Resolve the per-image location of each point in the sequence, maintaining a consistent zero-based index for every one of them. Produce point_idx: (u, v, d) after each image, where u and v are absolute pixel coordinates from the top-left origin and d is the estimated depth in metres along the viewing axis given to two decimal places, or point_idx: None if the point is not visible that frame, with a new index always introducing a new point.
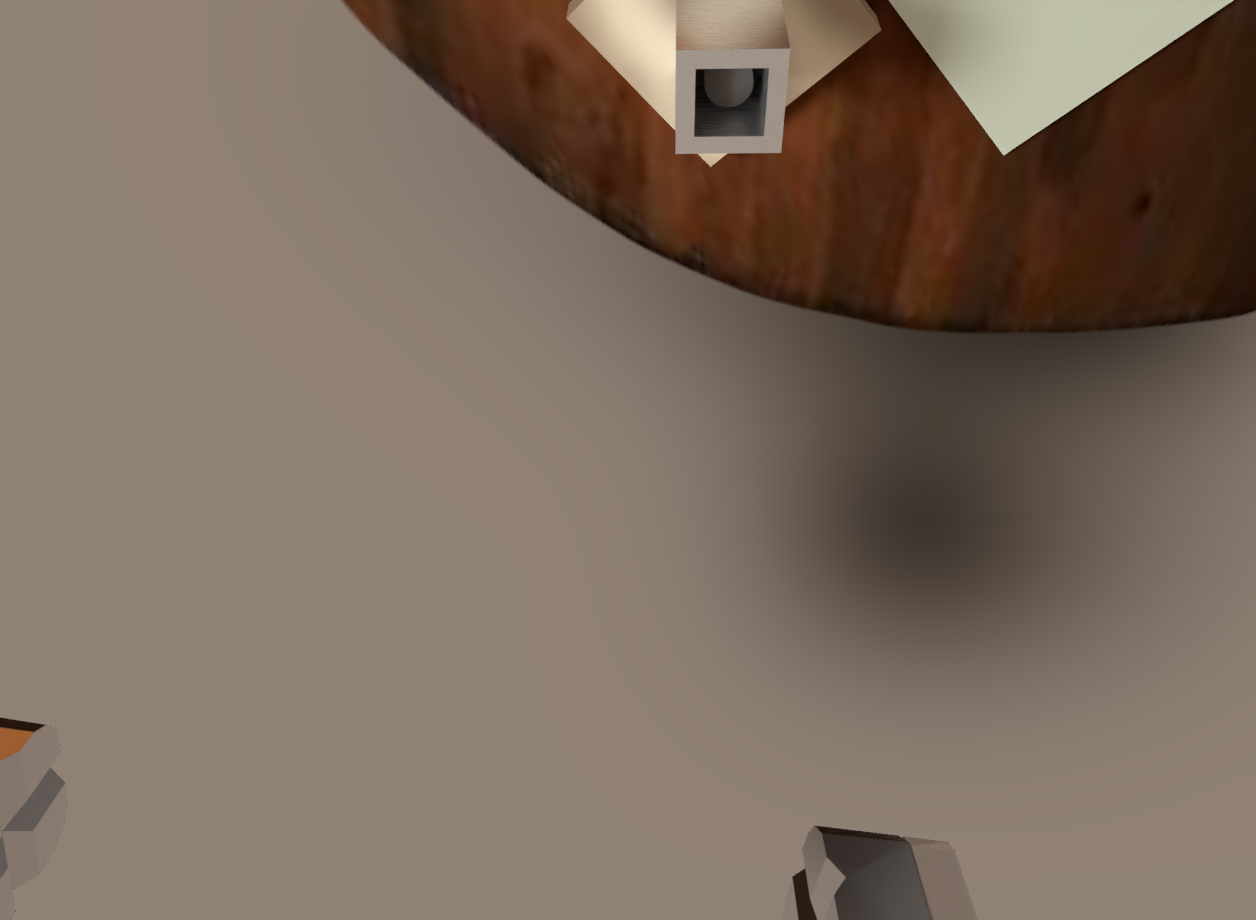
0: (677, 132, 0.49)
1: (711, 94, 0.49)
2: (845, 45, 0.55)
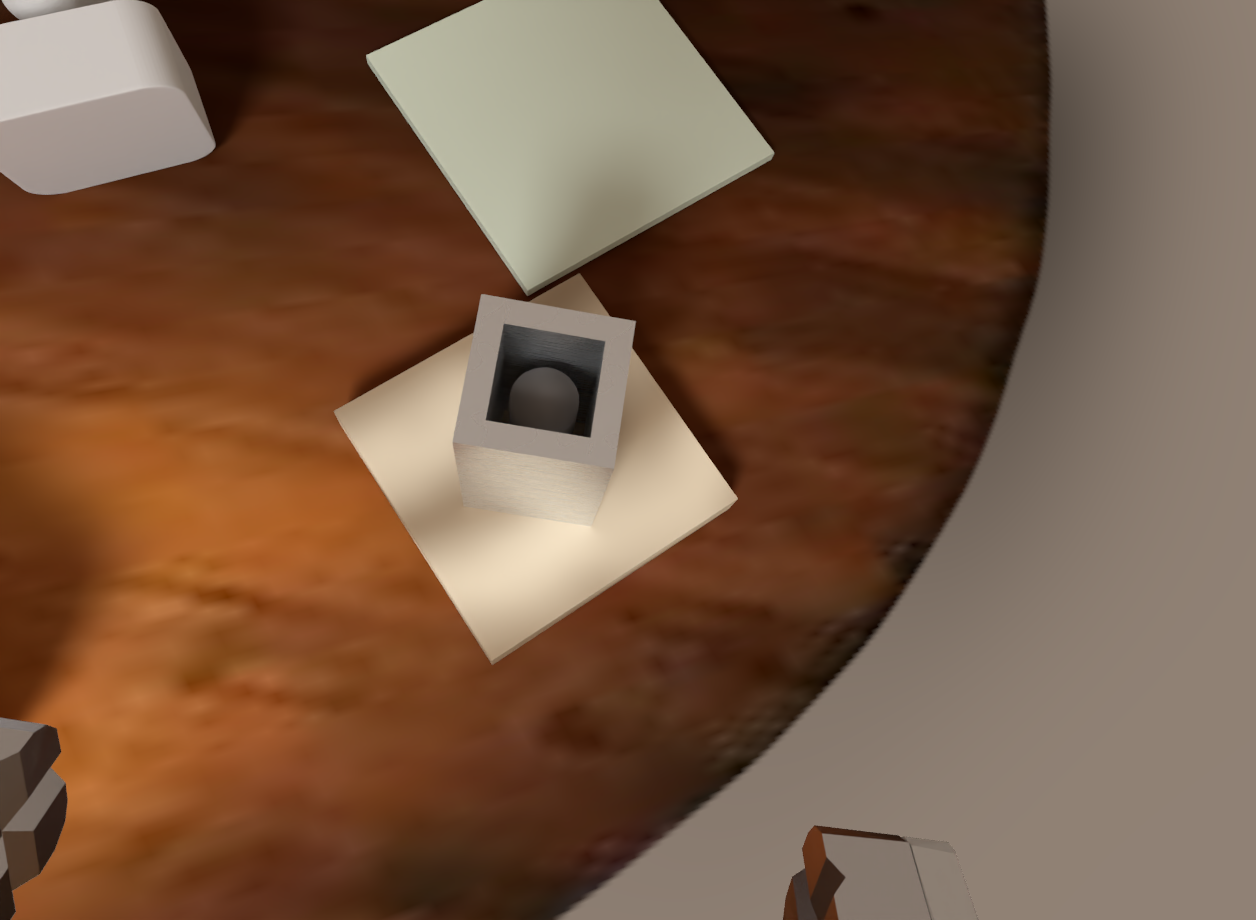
0: (579, 460, 0.32)
1: (555, 425, 0.34)
2: None
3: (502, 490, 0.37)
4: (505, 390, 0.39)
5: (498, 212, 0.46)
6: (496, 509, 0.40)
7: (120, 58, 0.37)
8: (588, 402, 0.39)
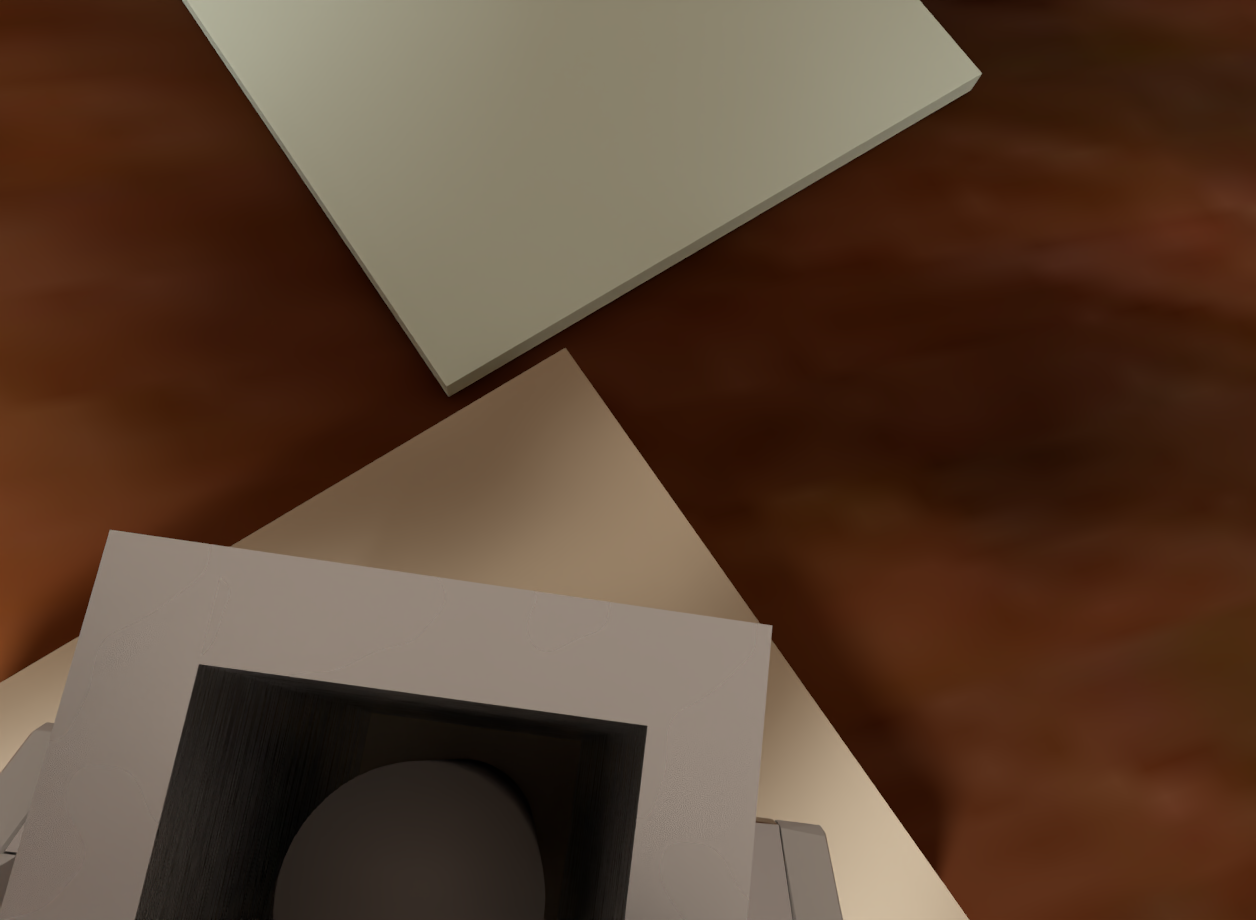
0: None
1: None
2: (595, 448, 0.18)
3: None
4: (349, 705, 0.14)
5: (382, 207, 0.20)
6: None
7: None
8: (587, 737, 0.14)
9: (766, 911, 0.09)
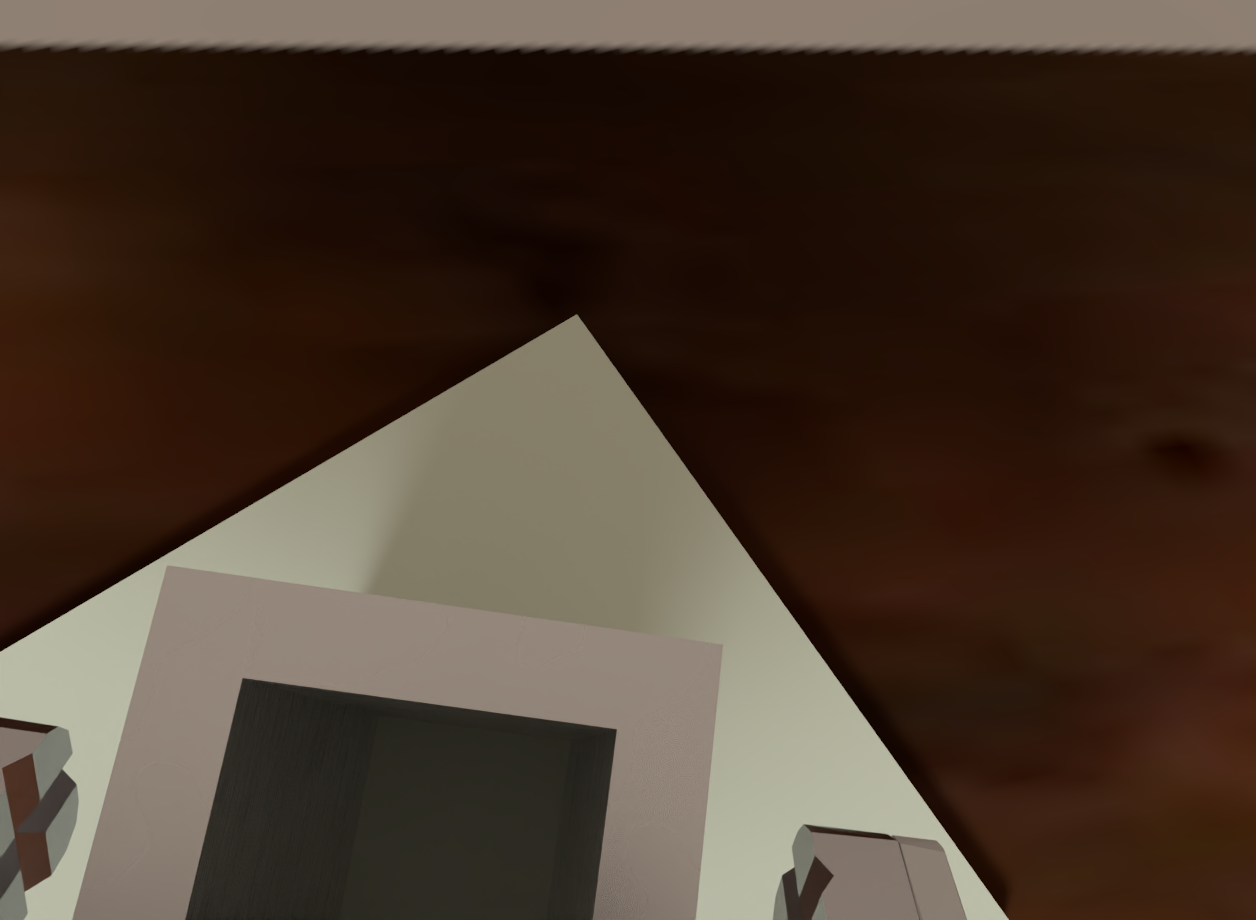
0: None
1: None
2: None
3: None
4: (360, 709, 0.15)
5: None
6: None
7: None
8: (574, 738, 0.15)
9: None
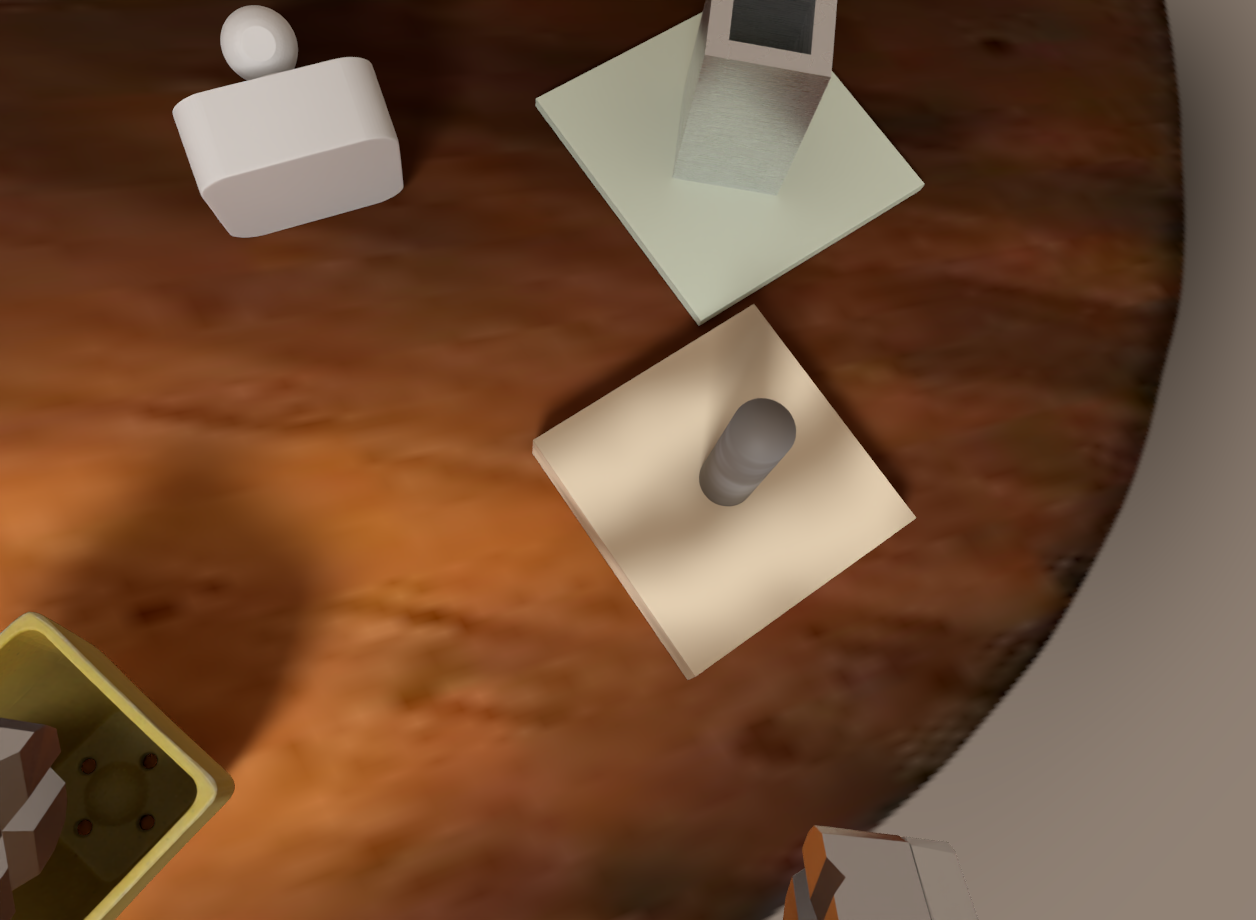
0: (803, 70, 0.40)
1: (776, 452, 0.36)
2: (767, 342, 0.45)
3: (718, 138, 0.45)
4: None
5: (668, 246, 0.48)
6: (700, 178, 0.49)
7: (345, 112, 0.39)
8: None
9: None
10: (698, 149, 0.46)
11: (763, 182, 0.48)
